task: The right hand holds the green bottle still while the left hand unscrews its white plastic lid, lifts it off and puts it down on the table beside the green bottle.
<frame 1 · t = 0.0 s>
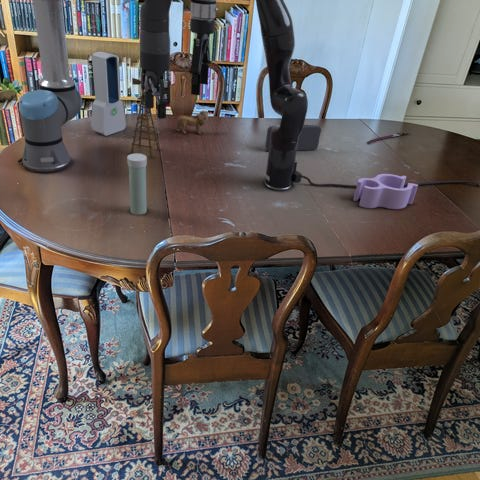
left hand: (199, 89, 153), 28 cm above the table, tool pointing down, fingers open, 13 cm apart
right hand: (155, 113, 125), 29 cm above the table, tool pointing down, fingers open, 8 cm apart
sword: (389, 138, 214), on the table
electronic device: (108, 131, 190), on the table
lid: (137, 158, 130), point 17 cm above the table, screwed on, not yet turned
clip: (381, 201, 159), on the table
handheld gaming console: (291, 150, 191), on the table
miniature windmill: (145, 152, 176), on the table
lion figurine: (191, 132, 198), on the table
green bottle: (138, 211, 139), on the table
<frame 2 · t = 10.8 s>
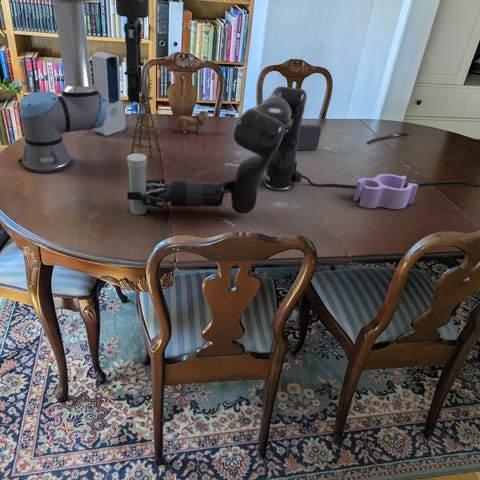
left hand: (135, 96, 120), 34 cm above the table, tool pointing down, fingers open, 7 cm apart
right hand: (128, 191, 135), 6 cm above the table, tool horizontal, fingers closed on green bottle, 4 cm apart
green bottle: (138, 211, 139), on the table, touching right hand
everything else where it was.
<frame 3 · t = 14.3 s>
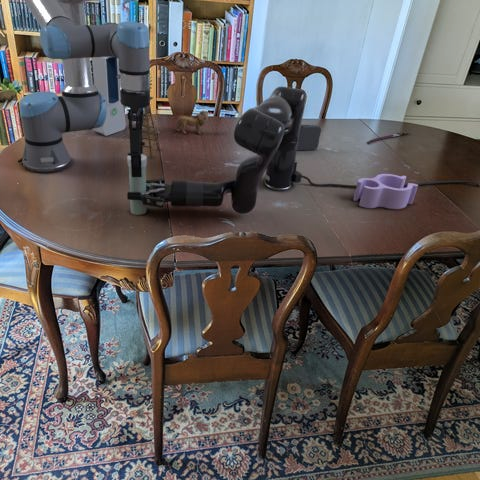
left hand: (137, 171, 132), 13 cm above the table, tool pointing down, fingers closed on lid, 5 cm apart
right hand: (128, 191, 135), 6 cm above the table, tool horizontal, fingers closed on green bottle, 4 cm apart
lid: (137, 158, 130), point 17 cm above the table, screwed on, not yet turned, touching left hand
green bottle: (138, 211, 139), on the table, touching right hand
everything else where it was.
when the left hand's fingers open (13 cm above the table, at t = 15.6 s): lid stays where it is, point 17 cm above the table.
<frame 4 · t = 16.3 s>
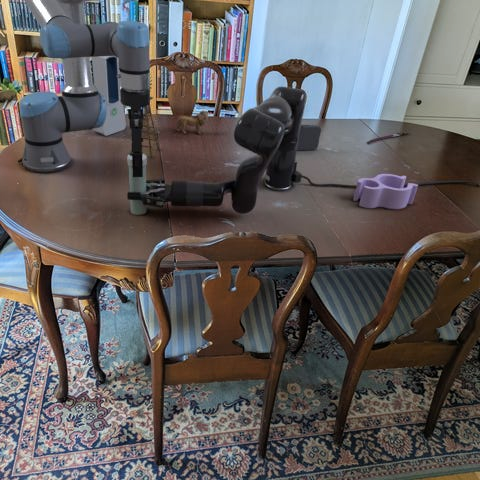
left hand: (137, 170, 132), 13 cm above the table, tool pointing down, fingers open, 7 cm apart
right hand: (128, 191, 135), 6 cm above the table, tool horizontal, fingers closed on green bottle, 4 cm apart
lid: (137, 157, 130), point 17 cm above the table, turned 74° so far, risen 0.2 cm, still on its thread
green bottle: (138, 211, 139), on the table, touching right hand
everything else where it was.
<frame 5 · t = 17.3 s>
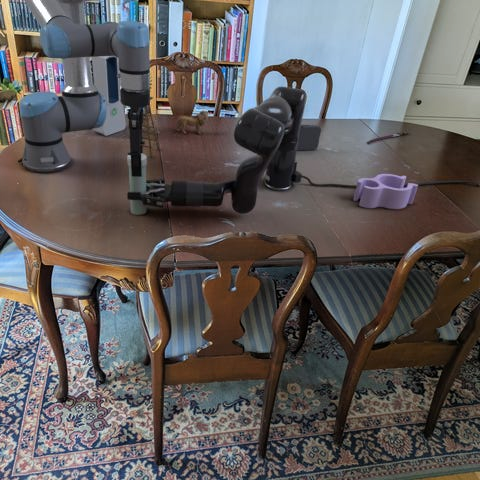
left hand: (137, 171, 132), 13 cm above the table, tool pointing down, fingers closed on lid, 5 cm apart
right hand: (128, 191, 135), 6 cm above the table, tool horizontal, fingers closed on green bottle, 4 cm apart
lid: (137, 157, 130), point 17 cm above the table, turned 74° so far, risen 0.2 cm, still on its thread, touching left hand
green bottle: (138, 211, 139), on the table, touching right hand
everything else where it was.
when the left hand's fingers open (0 cm above the table, at t = 25.6 s): lid drops 2 cm, point 2 cm above the table.
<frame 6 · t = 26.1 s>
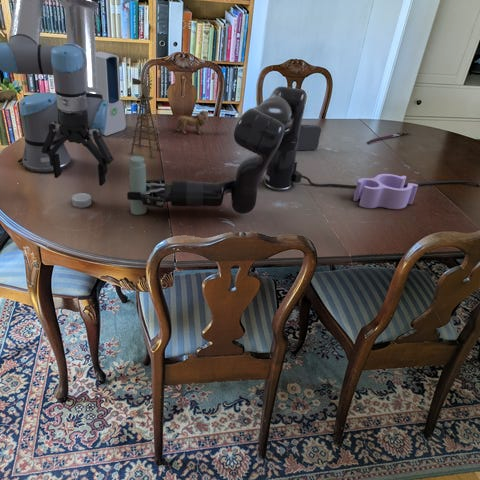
left hand: (80, 179, 136), 7 cm above the table, tool pointing down, fingers open, 13 cm apart
right hand: (128, 191, 135), 6 cm above the table, tool horizontal, fingers closed on green bottle, 4 cm apart
lid: (81, 198, 139), point 2 cm above the table, off its thread
green bottle: (138, 211, 139), on the table, touching right hand
everything else where it was.
when the right hand's fingers open (6 cm above the table, at t = 26.2 s): green bottle stays where it is, on the table.
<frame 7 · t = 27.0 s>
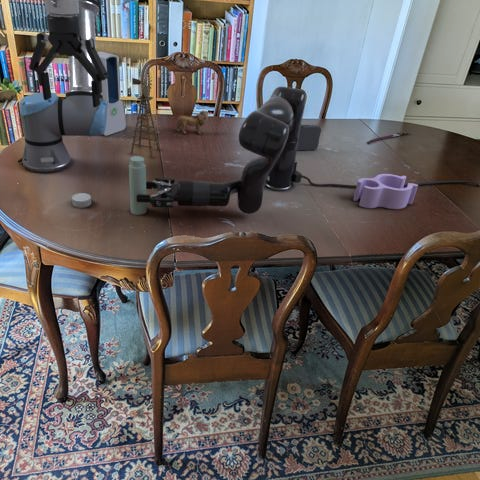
left hand: (72, 102, 124), 30 cm above the table, tool pointing down, fingers open, 13 cm apart
right hand: (138, 191, 136), 6 cm above the table, tool horizontal, fingers open, 8 cm apart
green bottle: (138, 211, 139), on the table
everything else where it was.
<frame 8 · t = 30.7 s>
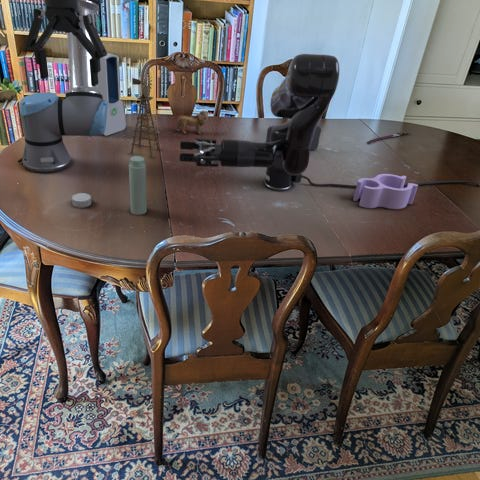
left hand: (69, 81, 121), 36 cm above the table, tool pointing down, fingers open, 13 cm apart
right hand: (180, 150, 130), 20 cm above the table, tool horizontal, fingers open, 8 cm apart
nothing on the table moved.
at the end: lid came off its thread; lid point 1.8 cm above the table; the left hand is holding nothing; the right hand is holding nothing; green bottle tilted 0°; green bottle moved 0.0 cm from its start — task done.
